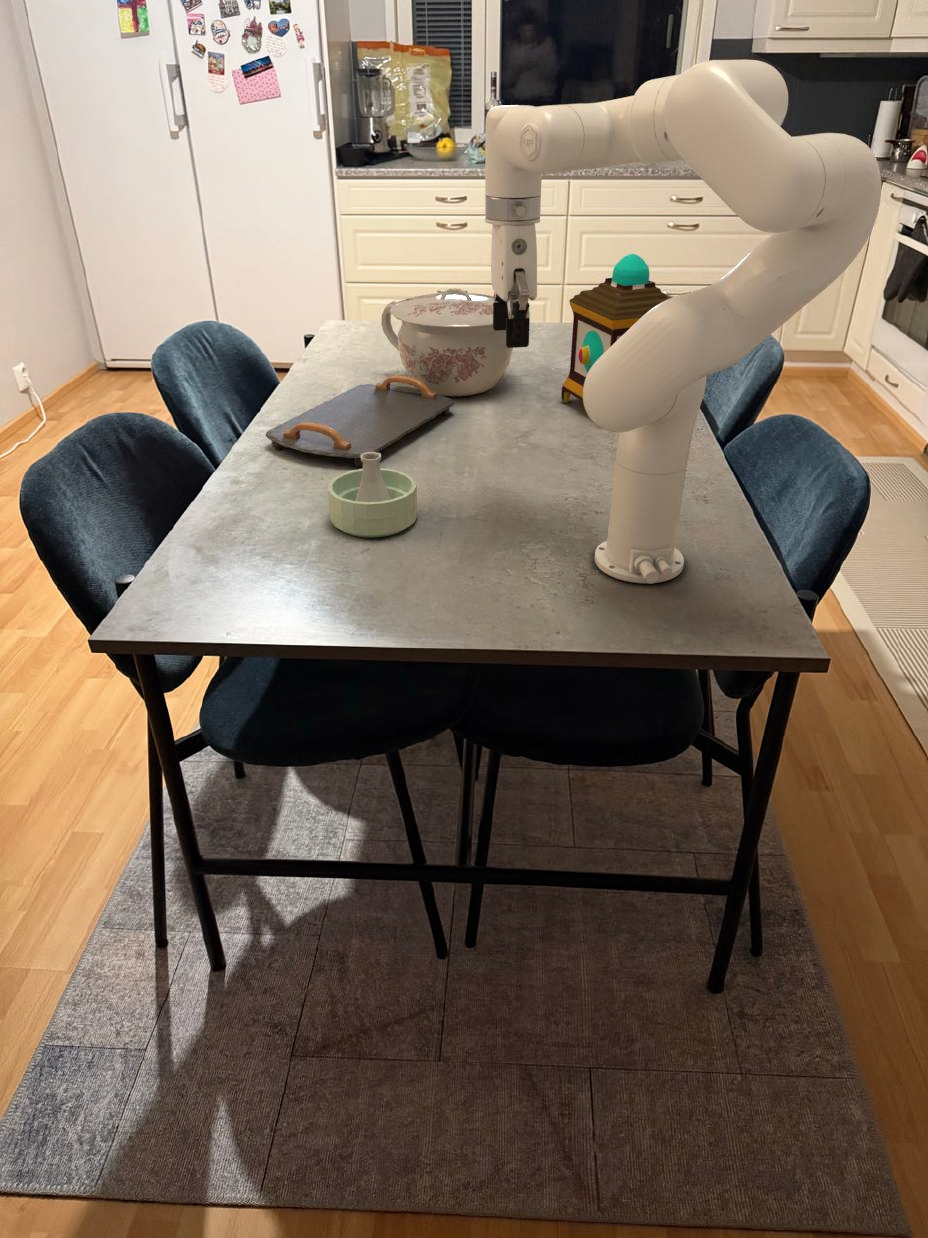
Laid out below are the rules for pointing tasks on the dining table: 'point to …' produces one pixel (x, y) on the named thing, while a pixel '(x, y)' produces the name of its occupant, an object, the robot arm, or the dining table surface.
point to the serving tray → (361, 419)
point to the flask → (372, 480)
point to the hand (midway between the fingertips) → (510, 337)
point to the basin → (372, 504)
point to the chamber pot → (449, 341)
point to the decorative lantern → (607, 317)
